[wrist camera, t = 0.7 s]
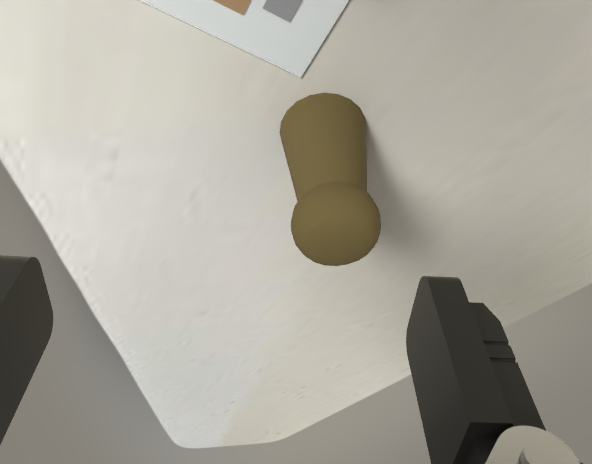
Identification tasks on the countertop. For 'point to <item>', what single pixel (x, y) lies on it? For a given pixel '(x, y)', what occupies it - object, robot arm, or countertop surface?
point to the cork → (329, 179)
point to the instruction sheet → (262, 25)
